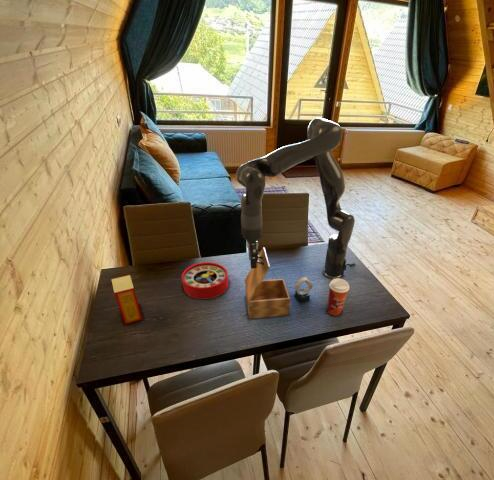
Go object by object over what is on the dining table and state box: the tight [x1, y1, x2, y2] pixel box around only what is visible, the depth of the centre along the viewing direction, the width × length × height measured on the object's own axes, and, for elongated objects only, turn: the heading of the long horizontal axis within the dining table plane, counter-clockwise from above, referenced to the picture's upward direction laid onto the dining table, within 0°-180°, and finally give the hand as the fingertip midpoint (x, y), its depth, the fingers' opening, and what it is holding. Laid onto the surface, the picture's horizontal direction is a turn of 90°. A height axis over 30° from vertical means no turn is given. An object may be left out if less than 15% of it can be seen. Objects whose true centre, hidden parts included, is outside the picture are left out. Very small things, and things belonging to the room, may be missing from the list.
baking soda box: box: [110, 274, 144, 325], centre depth 122 cm, size 10×6×16 cm
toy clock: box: [181, 261, 229, 300], centre depth 143 cm, size 20×6×20 cm
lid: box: [244, 246, 271, 302], centre depth 124 cm, size 18×14×5 cm
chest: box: [245, 278, 291, 320], centre depth 133 cm, size 17×14×9 cm
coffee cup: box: [327, 277, 350, 317], centre depth 132 cm, size 8×8×15 cm
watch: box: [294, 276, 314, 304], centre depth 138 cm, size 6×8×11 cm
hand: (252, 263), depth 121 cm, fingers closed on lid, 5 cm apart
